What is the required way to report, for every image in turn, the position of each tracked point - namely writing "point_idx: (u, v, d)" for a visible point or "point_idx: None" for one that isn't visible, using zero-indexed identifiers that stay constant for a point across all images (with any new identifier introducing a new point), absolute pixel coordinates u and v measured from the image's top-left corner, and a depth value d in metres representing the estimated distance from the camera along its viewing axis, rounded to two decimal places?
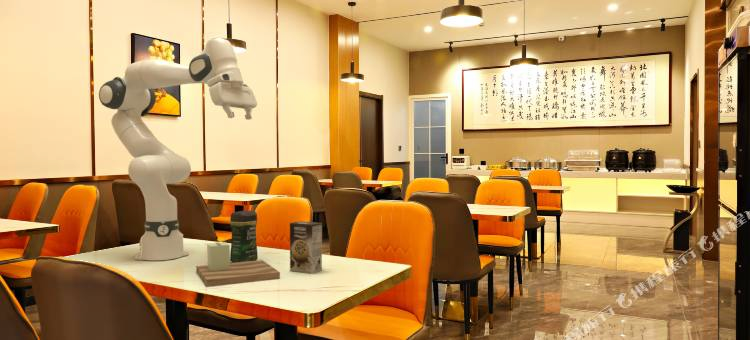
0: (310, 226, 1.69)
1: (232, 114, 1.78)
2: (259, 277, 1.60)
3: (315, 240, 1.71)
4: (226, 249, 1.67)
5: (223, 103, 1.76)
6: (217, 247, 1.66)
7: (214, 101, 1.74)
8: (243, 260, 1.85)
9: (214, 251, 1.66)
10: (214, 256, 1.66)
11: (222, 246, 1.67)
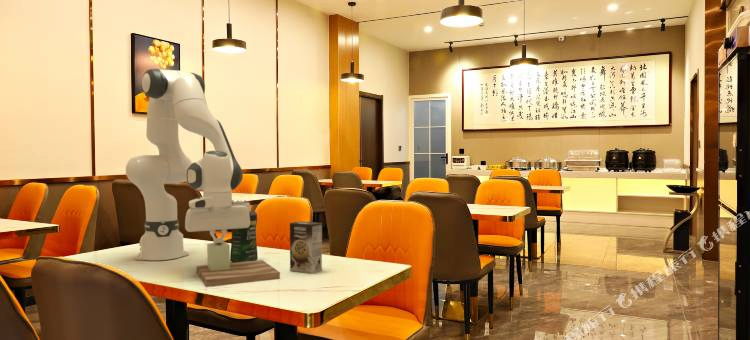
0: (310, 226, 1.69)
1: (216, 241, 1.68)
2: (259, 277, 1.60)
3: (315, 240, 1.71)
4: (226, 249, 1.67)
5: None
6: (217, 247, 1.66)
7: (185, 227, 1.65)
8: (243, 260, 1.85)
9: (214, 251, 1.66)
10: (214, 256, 1.66)
11: (222, 246, 1.67)
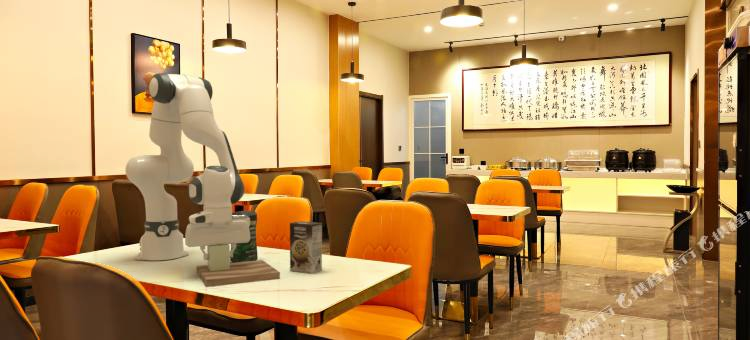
0: (310, 226, 1.69)
1: (206, 257, 1.67)
2: (259, 277, 1.60)
3: (315, 240, 1.71)
4: (226, 249, 1.67)
5: (193, 246, 1.65)
6: (217, 247, 1.66)
7: (185, 242, 1.65)
8: (243, 260, 1.85)
9: (214, 251, 1.66)
10: (214, 256, 1.66)
11: (222, 246, 1.67)
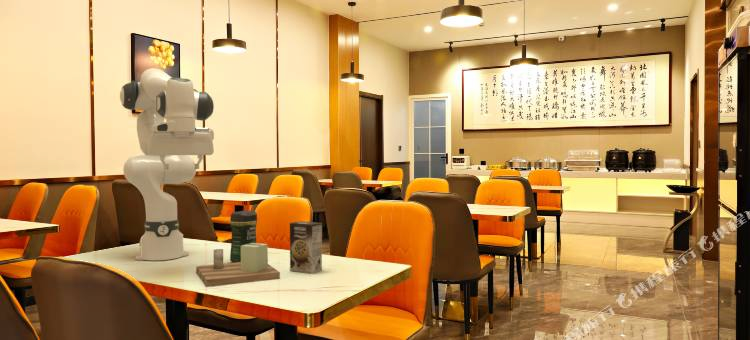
0: (310, 226, 1.69)
1: (165, 167, 1.68)
2: (259, 277, 1.60)
3: (315, 240, 1.71)
4: (265, 248, 1.68)
5: (156, 155, 1.67)
6: (260, 247, 1.65)
7: None
8: None
9: (258, 251, 1.65)
10: (258, 257, 1.65)
11: (263, 246, 1.67)
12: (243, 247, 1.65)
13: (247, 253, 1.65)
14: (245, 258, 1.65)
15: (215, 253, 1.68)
